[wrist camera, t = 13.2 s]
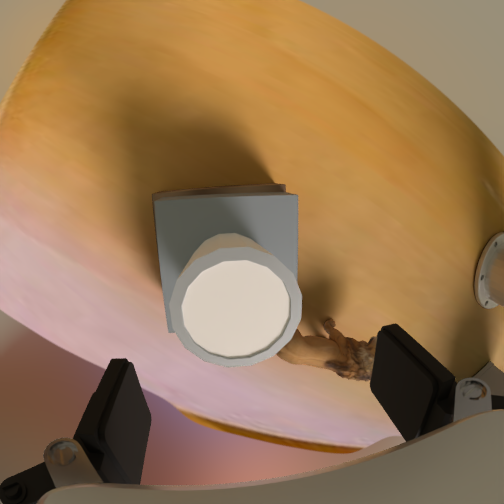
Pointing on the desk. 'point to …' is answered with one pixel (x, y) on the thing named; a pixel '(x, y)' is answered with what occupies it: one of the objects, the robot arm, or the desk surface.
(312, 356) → the lion figurine
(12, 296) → the desk surface
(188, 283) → the beige cup
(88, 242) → the desk surface
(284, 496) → the robot arm
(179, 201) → the top block
